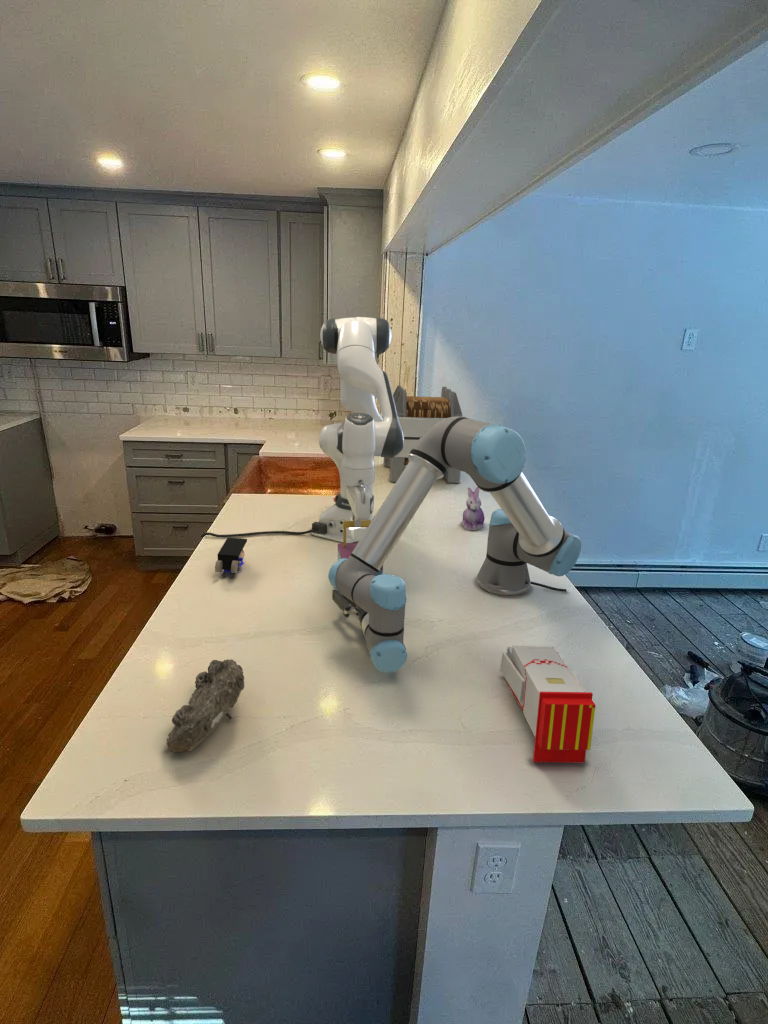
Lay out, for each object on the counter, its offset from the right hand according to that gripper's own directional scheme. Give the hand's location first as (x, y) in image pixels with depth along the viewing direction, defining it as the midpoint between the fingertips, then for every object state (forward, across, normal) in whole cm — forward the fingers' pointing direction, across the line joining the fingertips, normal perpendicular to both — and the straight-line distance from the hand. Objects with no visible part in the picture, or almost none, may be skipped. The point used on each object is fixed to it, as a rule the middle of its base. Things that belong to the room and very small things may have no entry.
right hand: (361, 579), depth 152 cm
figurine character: (+23, -35, -6) cm, 42 cm away
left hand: (+10, 0, +12) cm, 16 cm away
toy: (-50, +28, -6) cm, 57 cm away
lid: (+4, 0, +4) cm, 6 cm away
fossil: (-42, -36, -6) cm, 55 cm away
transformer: (+121, +49, -6) cm, 131 cm away
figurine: (+50, +50, -6) cm, 71 cm away
